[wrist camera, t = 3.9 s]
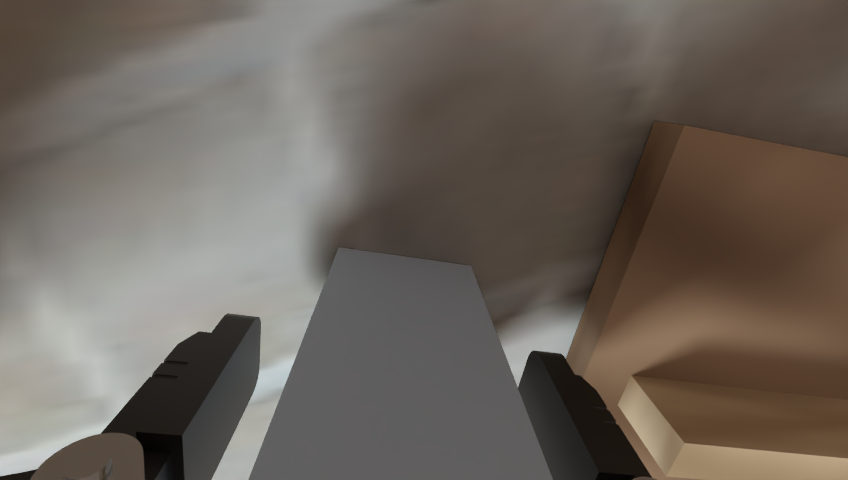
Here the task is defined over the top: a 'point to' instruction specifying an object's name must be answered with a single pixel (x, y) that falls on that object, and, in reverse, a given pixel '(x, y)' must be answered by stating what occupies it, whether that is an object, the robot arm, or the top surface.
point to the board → (725, 310)
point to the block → (400, 382)
